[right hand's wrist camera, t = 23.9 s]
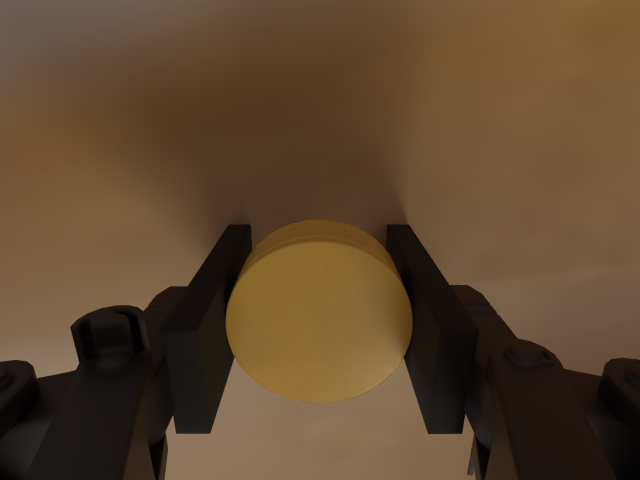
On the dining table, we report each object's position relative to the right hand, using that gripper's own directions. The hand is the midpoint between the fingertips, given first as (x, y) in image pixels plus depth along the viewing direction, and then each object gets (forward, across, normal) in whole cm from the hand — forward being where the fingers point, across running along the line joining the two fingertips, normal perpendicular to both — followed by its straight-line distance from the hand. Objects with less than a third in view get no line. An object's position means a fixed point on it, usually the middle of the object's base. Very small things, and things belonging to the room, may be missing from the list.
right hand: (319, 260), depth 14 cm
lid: (-4, 0, 0) cm, 4 cm away
